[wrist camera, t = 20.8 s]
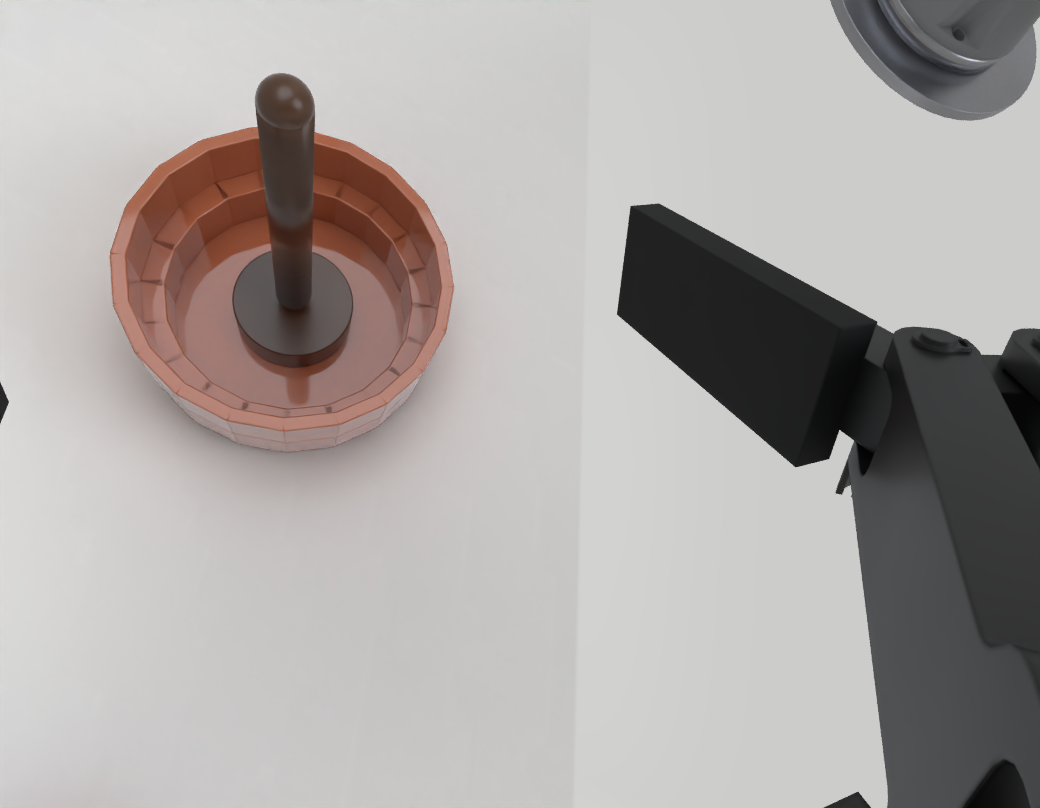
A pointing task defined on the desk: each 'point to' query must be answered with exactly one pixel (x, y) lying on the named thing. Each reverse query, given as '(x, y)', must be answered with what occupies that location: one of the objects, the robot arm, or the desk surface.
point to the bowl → (244, 236)
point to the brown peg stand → (290, 242)
